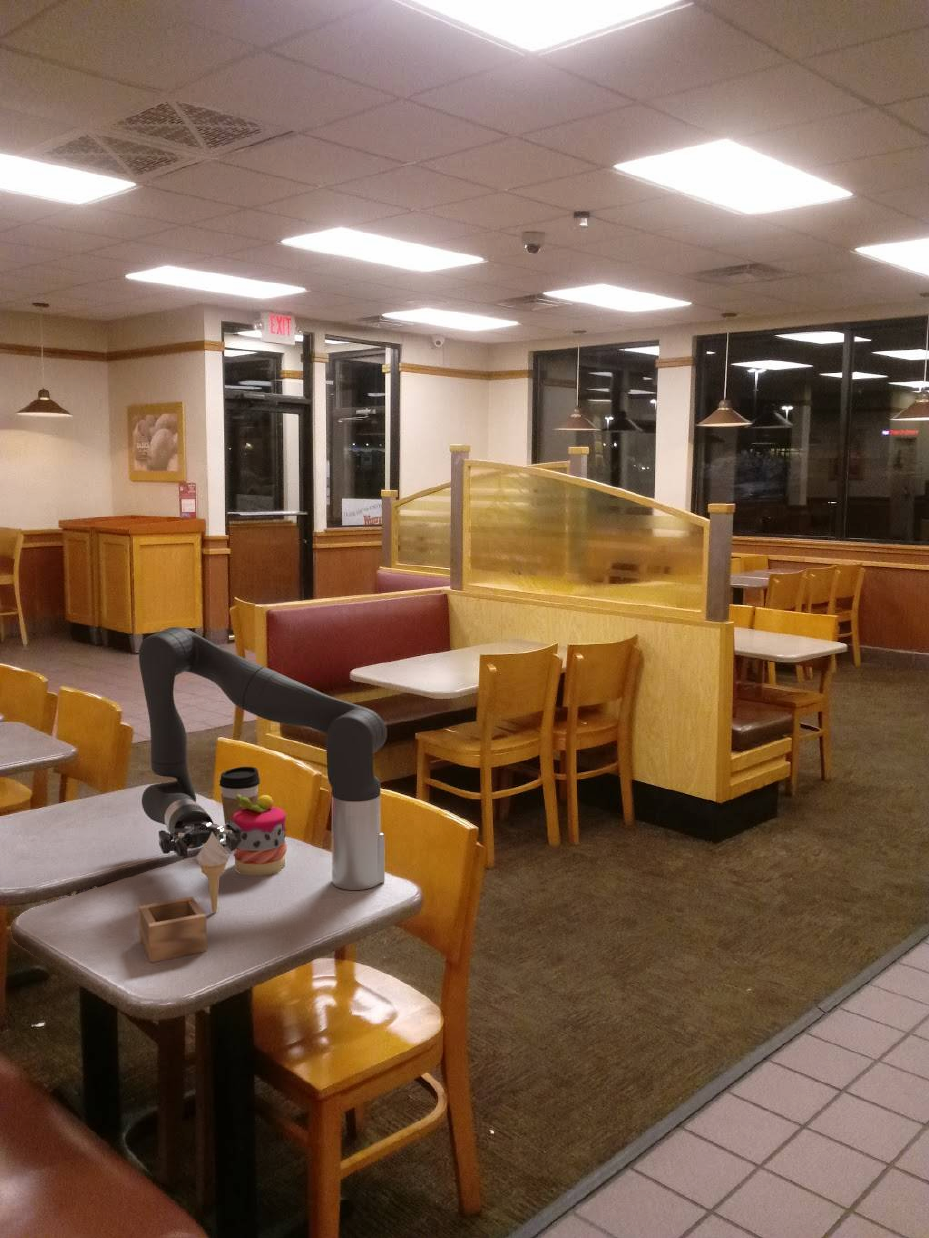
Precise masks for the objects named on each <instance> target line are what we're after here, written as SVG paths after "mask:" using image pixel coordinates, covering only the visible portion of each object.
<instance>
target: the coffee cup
mask: <svg viewBox="0 0 929 1238" xmlns="http://www.w3.org/2000/svg"><path fill="white" fill-rule="evenodd" d="M219 779H220V780H219V784H218V785H219V786H220V787H221V802H222V804H221V805H222V810H223V811H222V812H223V817H224V818H223V820H224V825H226V821H233V816H234V814H235V813H236V812H237V811H239V810H241V809H244V808H242V807H239V804H240V803H239V802H238V801H237V799H236V796H237V795H241V796H242V798H244V797H246V798H248V799H249V800H250V801H251V803H252V804H253V805H254V806H255V805H256V806H258V805H257V801H258V799H259V791H258V790H259V789H258V788H259V785H260V783H261V780H260V775H259V770H258V769H257V768H256V767H253V766H239V767H234V768H231V769H227V770H225V771H222V773H221V774H220V778H219Z"/></svg>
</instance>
